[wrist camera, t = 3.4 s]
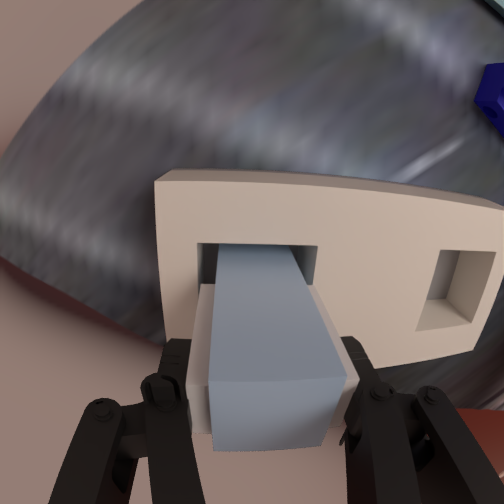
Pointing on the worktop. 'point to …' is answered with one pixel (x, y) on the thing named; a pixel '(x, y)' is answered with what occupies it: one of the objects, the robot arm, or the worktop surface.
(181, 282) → the socket strip
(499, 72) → the blue angular bent piece
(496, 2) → the rectangular tray
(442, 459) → the robot arm
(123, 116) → the worktop surface
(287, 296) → the plug
